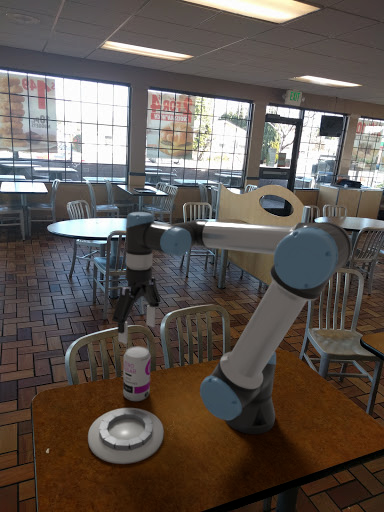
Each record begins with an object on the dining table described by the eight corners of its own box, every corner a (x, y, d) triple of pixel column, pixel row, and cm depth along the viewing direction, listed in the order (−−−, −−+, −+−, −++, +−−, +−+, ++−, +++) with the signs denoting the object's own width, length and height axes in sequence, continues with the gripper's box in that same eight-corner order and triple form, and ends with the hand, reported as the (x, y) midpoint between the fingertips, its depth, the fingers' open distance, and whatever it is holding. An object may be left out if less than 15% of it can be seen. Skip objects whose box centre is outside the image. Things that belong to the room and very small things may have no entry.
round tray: (177, 428, 109) (177, 419, 108) (132, 476, 92) (132, 466, 92) (121, 403, 119) (121, 395, 118) (71, 442, 102) (71, 433, 101)
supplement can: (151, 388, 127) (153, 346, 123) (146, 403, 119) (147, 360, 115) (127, 385, 127) (127, 344, 124) (120, 401, 120) (120, 357, 116)
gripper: (153, 255, 125) (151, 316, 130) (98, 273, 103) (99, 346, 109) (173, 259, 121) (170, 322, 127) (121, 279, 100) (120, 354, 105)
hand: (137, 333), depth 118 cm, fingers open, 13 cm apart
